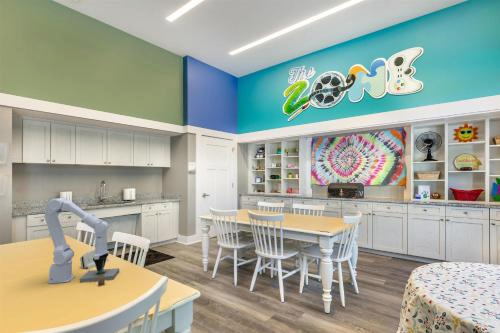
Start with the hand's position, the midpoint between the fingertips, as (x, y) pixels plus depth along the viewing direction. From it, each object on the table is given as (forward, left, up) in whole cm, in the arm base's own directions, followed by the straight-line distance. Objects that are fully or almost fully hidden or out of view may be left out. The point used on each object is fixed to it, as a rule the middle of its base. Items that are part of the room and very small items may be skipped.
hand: (100, 268), depth 142 cm
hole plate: (0, 0, -4) cm, 4 cm away
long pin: (0, 0, -4) cm, 4 cm away
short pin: (+4, -12, -4) cm, 13 cm away
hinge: (-11, +24, -5) cm, 27 cm away
